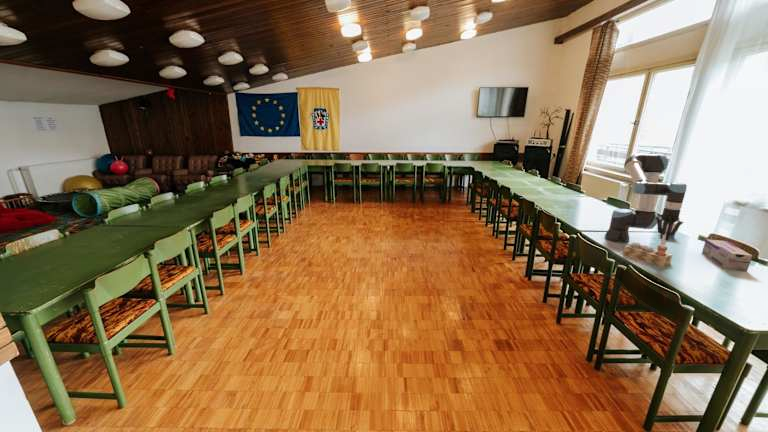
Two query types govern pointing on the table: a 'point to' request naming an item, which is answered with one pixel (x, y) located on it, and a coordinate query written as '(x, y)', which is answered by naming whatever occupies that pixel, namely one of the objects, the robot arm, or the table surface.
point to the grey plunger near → (636, 245)
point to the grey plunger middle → (648, 248)
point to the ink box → (667, 228)
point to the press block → (647, 255)
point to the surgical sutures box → (727, 255)
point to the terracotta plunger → (661, 250)
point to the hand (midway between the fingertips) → (662, 244)
